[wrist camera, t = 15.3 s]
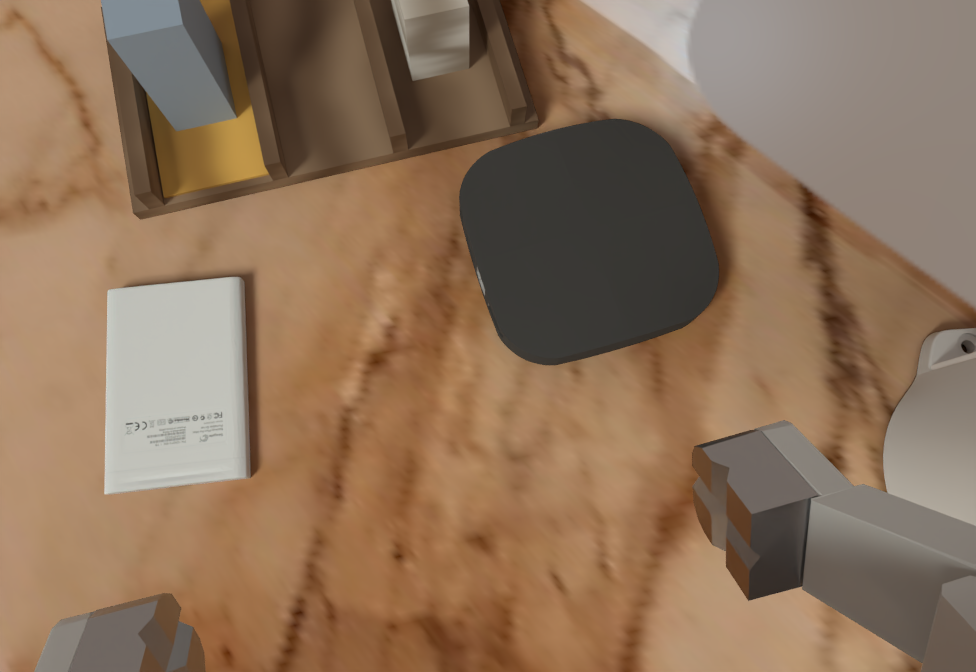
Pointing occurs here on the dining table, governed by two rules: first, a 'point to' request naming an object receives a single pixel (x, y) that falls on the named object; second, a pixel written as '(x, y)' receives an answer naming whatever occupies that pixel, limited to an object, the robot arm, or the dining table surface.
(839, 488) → the robot arm
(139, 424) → the external hard drive
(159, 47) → the grey rectangular block
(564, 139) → the media streaming box
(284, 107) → the rack
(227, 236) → the dining table surface
